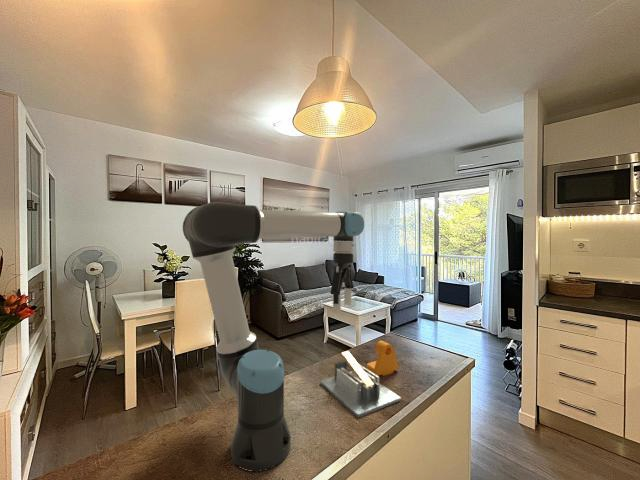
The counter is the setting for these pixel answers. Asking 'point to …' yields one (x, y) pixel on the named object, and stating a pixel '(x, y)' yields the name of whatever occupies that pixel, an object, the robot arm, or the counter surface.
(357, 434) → the counter surface
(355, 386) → the heatsink
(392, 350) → the bracket
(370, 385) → the strap
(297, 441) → the counter surface
